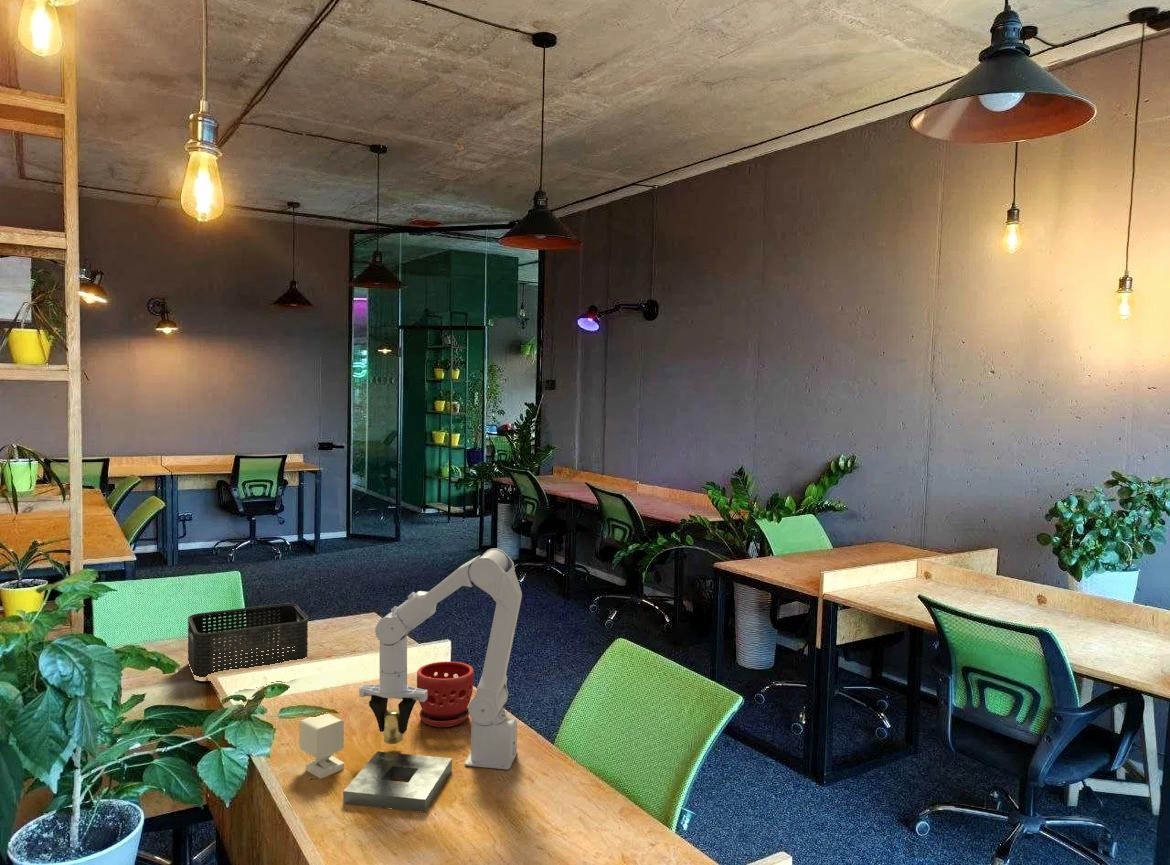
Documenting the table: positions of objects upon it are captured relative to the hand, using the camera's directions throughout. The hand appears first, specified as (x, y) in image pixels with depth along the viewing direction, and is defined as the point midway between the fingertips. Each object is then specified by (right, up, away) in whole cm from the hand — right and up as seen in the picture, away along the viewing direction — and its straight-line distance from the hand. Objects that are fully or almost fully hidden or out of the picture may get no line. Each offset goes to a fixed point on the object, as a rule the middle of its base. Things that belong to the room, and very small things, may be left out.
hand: (393, 730), depth 172 cm
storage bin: (-51, 0, +48) cm, 70 cm away
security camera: (-12, -5, -8) cm, 16 cm away
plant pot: (+8, -4, +16) cm, 19 cm away
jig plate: (+5, -6, -14) cm, 16 cm away
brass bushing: (0, -2, 0) cm, 2 cm away
